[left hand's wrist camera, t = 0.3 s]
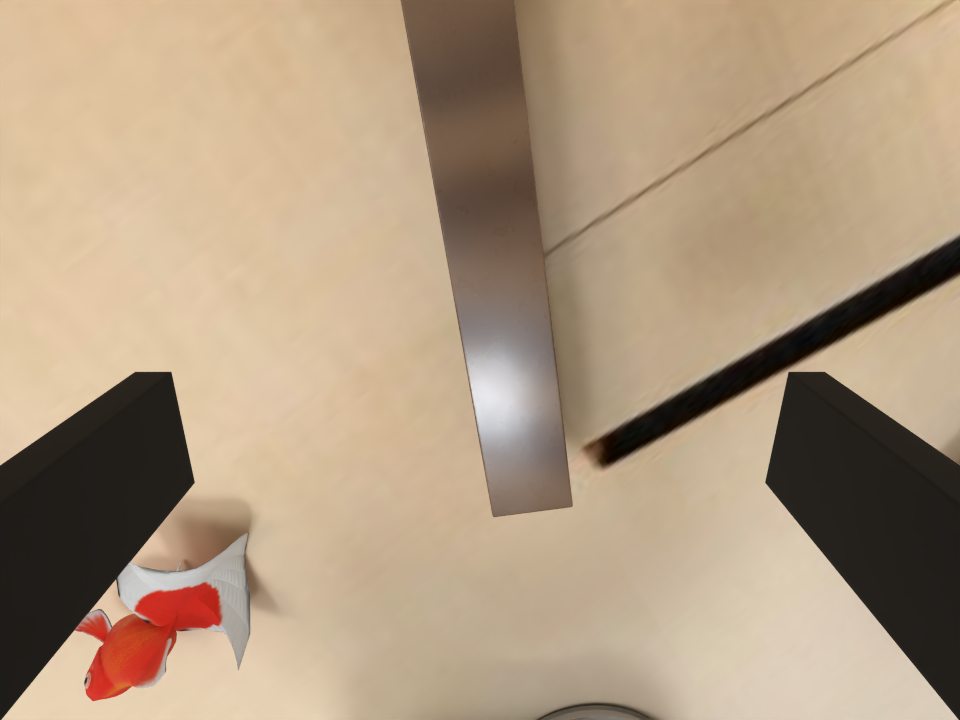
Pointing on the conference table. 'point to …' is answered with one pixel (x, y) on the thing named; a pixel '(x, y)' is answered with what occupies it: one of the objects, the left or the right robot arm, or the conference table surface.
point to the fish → (167, 619)
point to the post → (492, 242)
